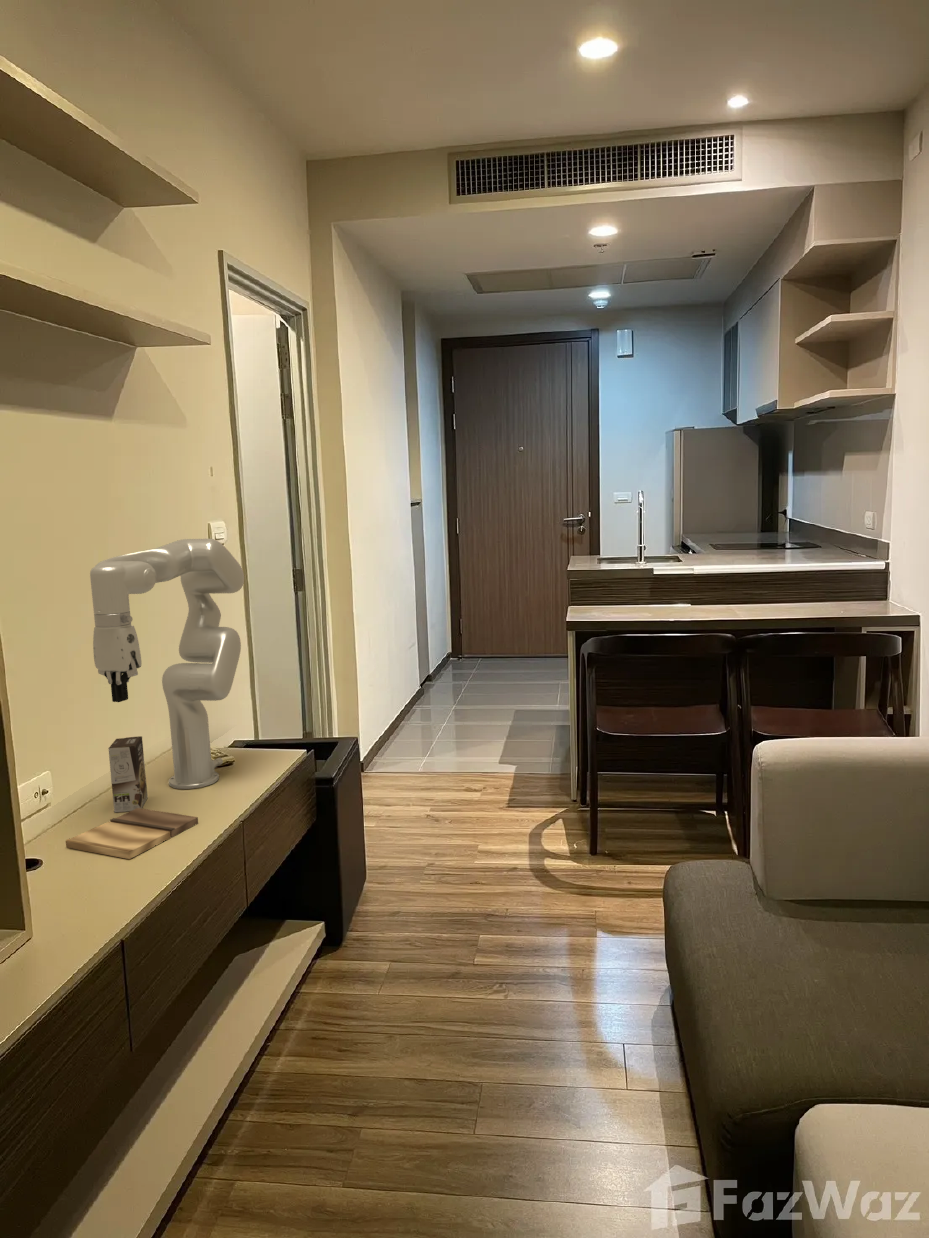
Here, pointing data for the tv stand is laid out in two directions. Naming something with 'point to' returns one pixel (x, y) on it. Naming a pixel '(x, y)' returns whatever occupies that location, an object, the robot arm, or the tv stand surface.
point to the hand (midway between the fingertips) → (120, 700)
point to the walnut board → (157, 820)
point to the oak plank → (118, 840)
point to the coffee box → (128, 774)
